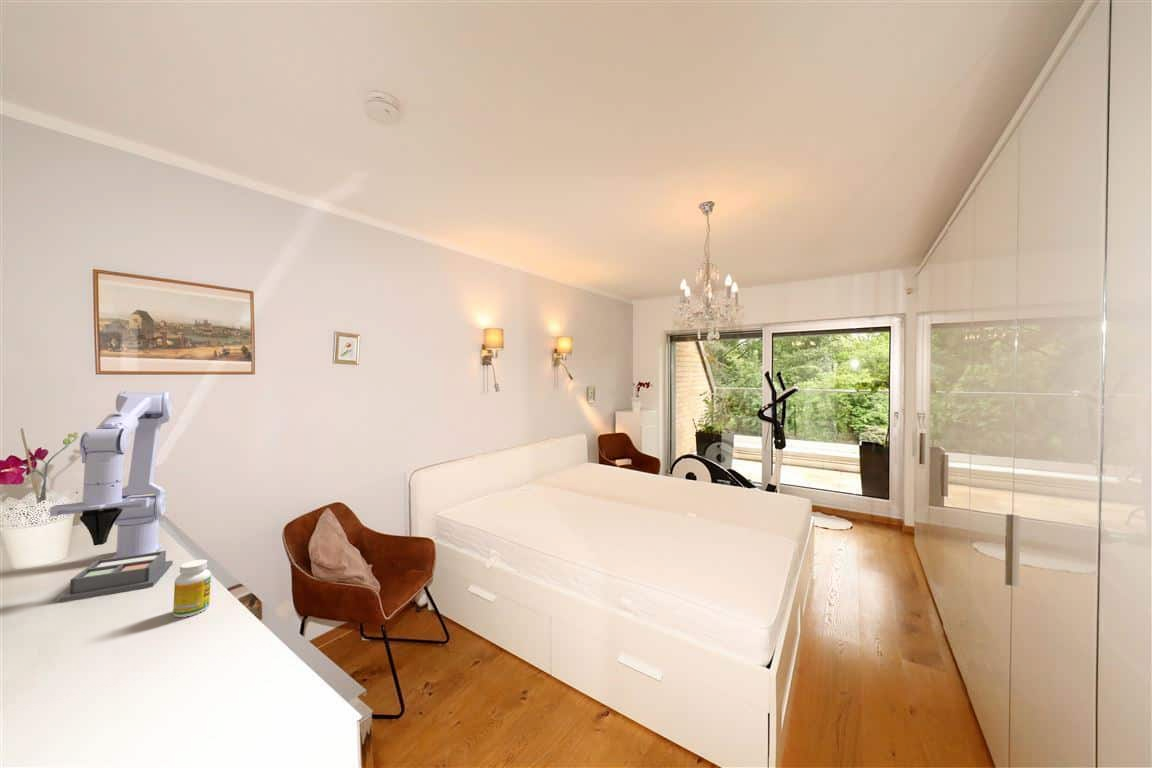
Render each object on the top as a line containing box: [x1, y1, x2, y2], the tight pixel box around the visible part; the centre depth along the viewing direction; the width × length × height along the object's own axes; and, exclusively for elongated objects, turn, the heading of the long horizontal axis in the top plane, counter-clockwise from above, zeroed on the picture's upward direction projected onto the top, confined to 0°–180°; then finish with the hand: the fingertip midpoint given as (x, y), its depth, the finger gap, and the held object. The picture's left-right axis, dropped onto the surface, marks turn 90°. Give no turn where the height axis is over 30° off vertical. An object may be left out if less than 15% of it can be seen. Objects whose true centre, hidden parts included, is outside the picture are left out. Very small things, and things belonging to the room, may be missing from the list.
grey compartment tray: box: [58, 550, 173, 603], centre depth 93 cm, size 14×14×4 cm
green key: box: [84, 568, 116, 577], centre depth 90 cm, size 4×4×2 cm
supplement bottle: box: [172, 559, 212, 618], centre depth 82 cm, size 5×5×10 cm
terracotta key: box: [122, 563, 150, 571], centre depth 93 cm, size 4×4×2 cm
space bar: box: [97, 555, 158, 567], centre depth 96 cm, size 4×10×2 cm, turn 122°
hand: (100, 543), depth 90 cm, fingers closed
